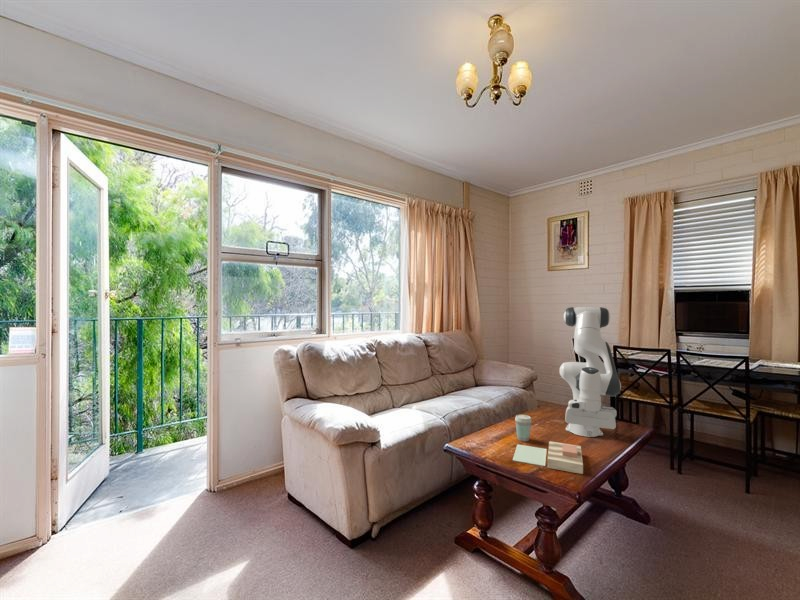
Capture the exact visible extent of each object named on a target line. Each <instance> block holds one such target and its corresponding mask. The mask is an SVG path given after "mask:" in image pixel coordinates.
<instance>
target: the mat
mask: <svg viewBox="0 0 800 600" xmlns="http://www.w3.org/2000/svg"><path fill="white" fill-rule="evenodd" d="M547 452H548V449H547V448H544V447H537V446H530V445H525V444H524V445H523V444H517V443H516V446H515V452H514V454H513V457H512V459H511V460H512V461H513V462H517V463H518V462H519V463H523V464H530V465H535V466H540V467H546V461H547V455H548V453H547Z"/></svg>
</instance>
